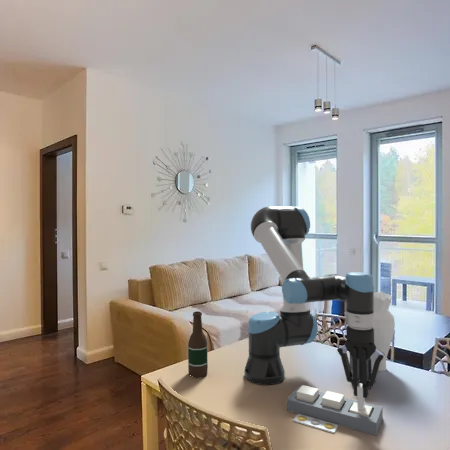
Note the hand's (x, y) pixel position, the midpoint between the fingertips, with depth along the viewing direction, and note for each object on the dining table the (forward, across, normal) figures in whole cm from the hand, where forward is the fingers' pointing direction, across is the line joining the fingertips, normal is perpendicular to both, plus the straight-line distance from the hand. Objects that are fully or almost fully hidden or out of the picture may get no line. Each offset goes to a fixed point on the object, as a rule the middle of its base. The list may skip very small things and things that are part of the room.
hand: (361, 407), depth 106 cm
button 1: (+1, -16, 0) cm, 16 cm away
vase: (+4, -4, +44) cm, 44 cm away
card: (+4, -11, -8) cm, 14 cm away
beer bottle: (+4, -61, +3) cm, 61 cm away
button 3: (+3, 0, 0) cm, 3 cm away
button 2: (+1, -8, 0) cm, 8 cm away
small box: (+4, -6, +27) cm, 28 cm away
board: (+4, -8, 0) cm, 9 cm away
